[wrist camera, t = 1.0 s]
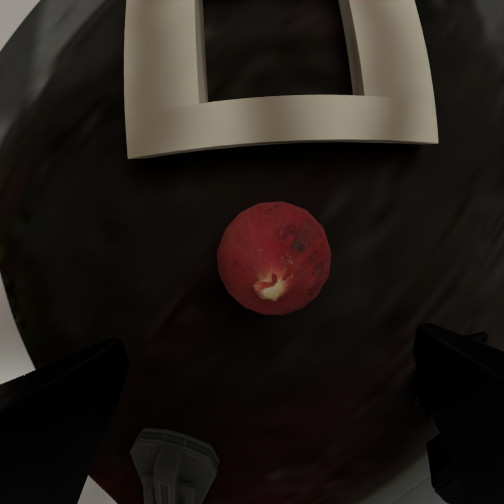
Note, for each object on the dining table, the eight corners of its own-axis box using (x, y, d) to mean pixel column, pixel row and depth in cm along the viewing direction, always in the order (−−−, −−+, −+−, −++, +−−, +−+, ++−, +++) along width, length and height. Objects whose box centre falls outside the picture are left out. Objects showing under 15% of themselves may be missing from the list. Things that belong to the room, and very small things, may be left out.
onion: (273, 175, 19) (272, 183, 11) (338, 239, 19) (375, 288, 12) (210, 241, 20) (172, 290, 12) (274, 299, 21) (273, 373, 13)
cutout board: (388, -29, 13) (398, -45, 11) (420, 144, 17) (438, 143, 15) (142, -16, 15) (129, -30, 13) (144, 158, 19) (128, 158, 16)
